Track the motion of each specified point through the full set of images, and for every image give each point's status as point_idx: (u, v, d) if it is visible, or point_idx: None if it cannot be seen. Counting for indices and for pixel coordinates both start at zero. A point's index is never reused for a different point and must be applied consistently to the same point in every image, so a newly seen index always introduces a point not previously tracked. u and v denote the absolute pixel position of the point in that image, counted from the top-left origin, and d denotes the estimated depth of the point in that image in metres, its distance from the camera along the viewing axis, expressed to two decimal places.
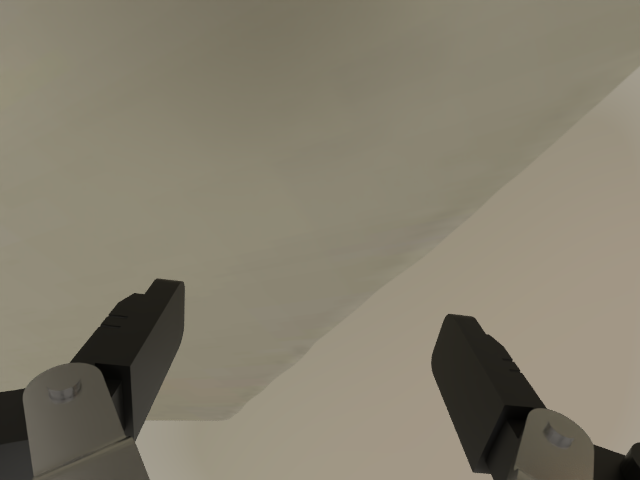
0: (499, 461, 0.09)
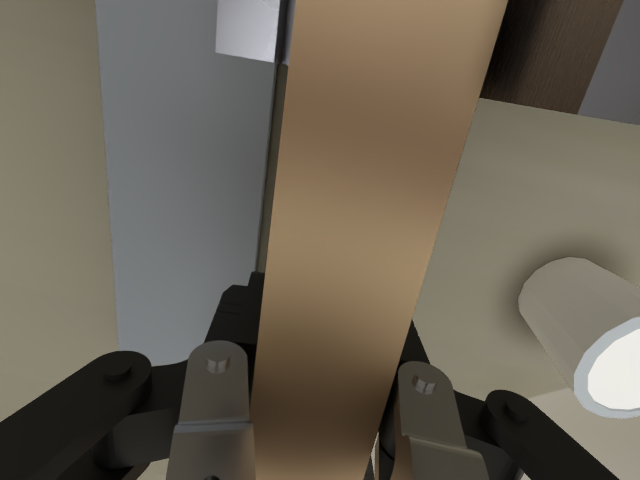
0: None
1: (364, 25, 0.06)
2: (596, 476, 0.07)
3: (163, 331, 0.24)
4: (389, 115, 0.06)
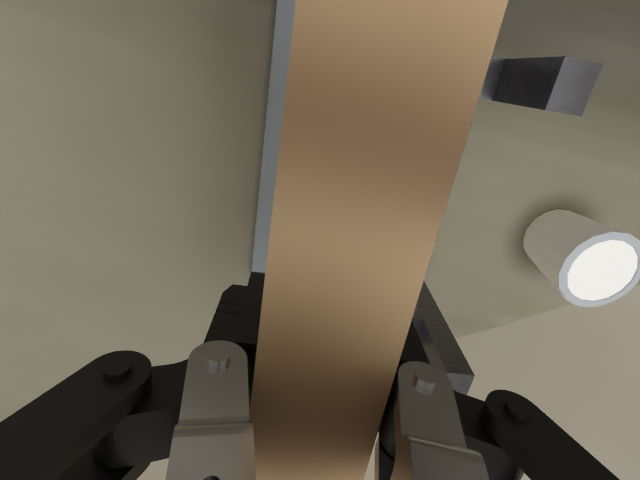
0: None
1: (364, 28, 0.06)
2: (596, 476, 0.07)
3: None
4: (389, 117, 0.06)
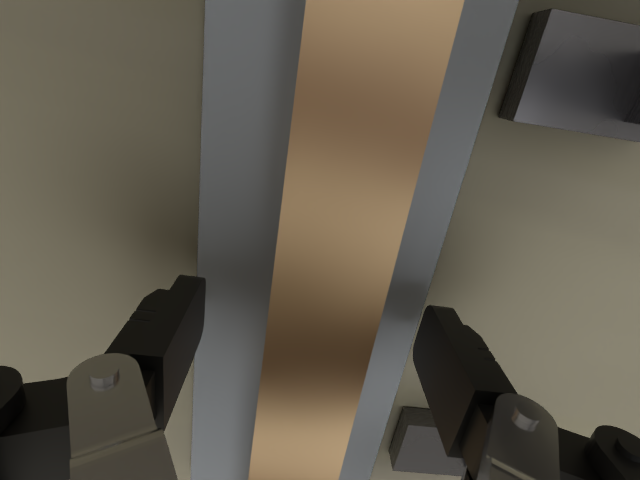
0: (470, 444, 0.09)
1: (353, 38, 0.08)
2: None
3: None
4: (374, 104, 0.08)
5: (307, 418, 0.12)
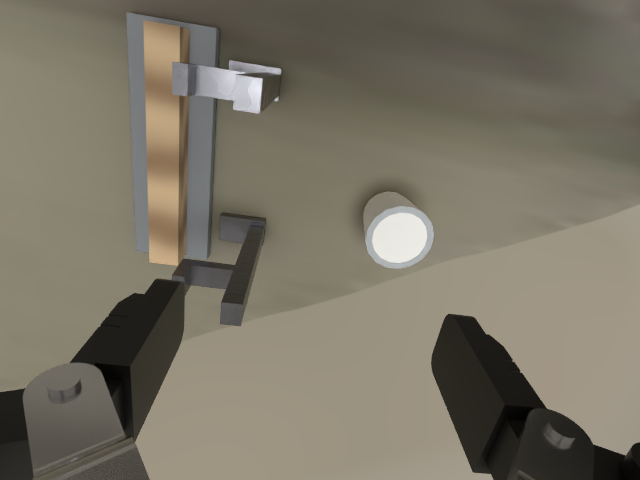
0: (499, 460, 0.09)
1: (156, 71, 0.34)
2: None
3: None
4: (164, 86, 0.34)
5: (163, 185, 0.38)
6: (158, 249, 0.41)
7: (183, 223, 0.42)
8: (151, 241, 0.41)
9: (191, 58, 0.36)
